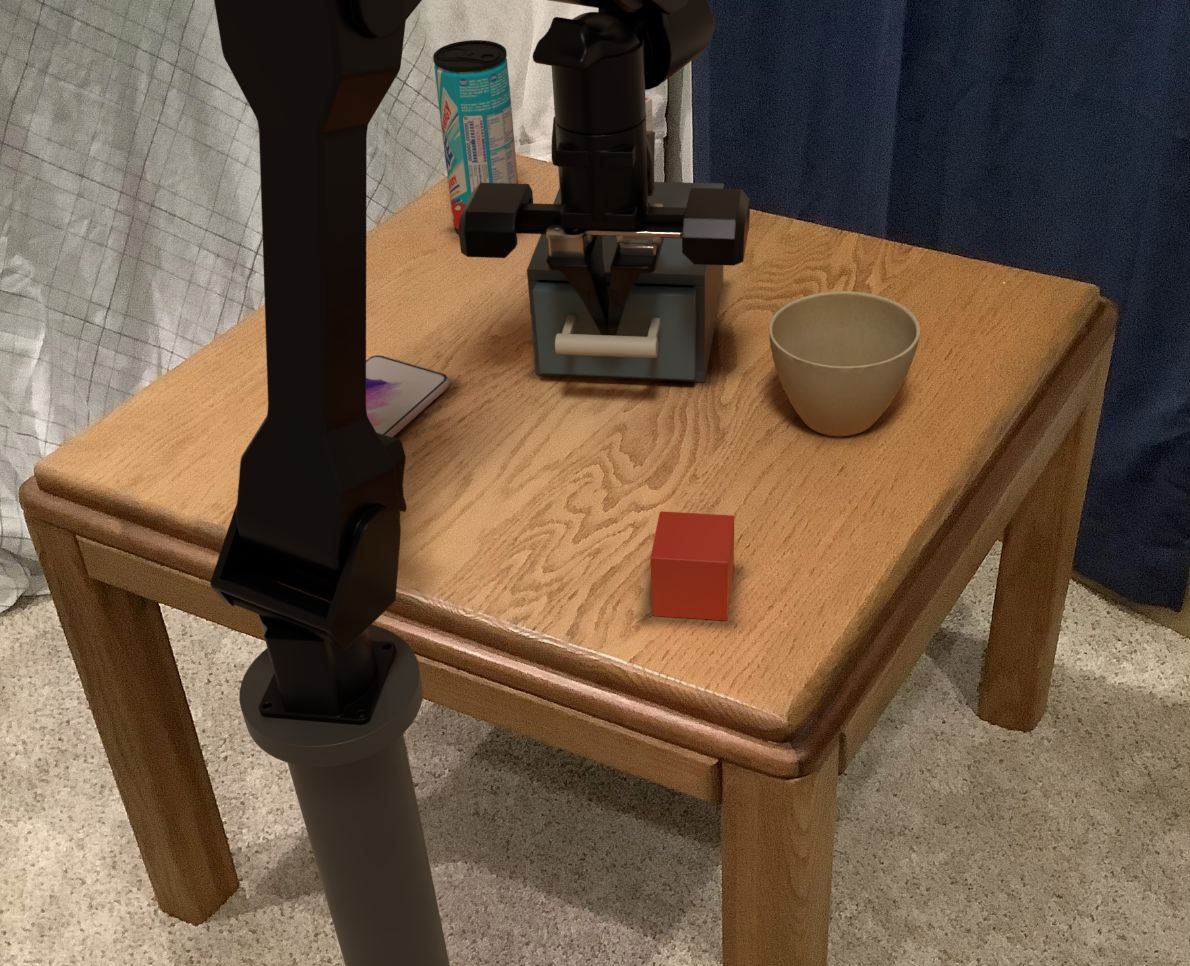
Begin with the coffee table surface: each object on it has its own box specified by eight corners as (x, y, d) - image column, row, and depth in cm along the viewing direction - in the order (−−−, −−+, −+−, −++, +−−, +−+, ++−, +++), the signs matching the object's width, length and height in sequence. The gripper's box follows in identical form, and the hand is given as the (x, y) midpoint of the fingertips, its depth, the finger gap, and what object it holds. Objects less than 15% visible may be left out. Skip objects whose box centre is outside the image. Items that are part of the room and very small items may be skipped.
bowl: (861, 365, 105) (869, 277, 100) (937, 434, 98) (950, 342, 93) (740, 400, 102) (742, 311, 97) (810, 473, 95) (816, 381, 90)
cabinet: (704, 382, 104) (705, 275, 98) (535, 375, 106) (526, 269, 100) (722, 284, 115) (724, 182, 109) (569, 279, 117) (562, 179, 111)
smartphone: (453, 375, 105) (331, 484, 95) (454, 385, 105) (333, 494, 96) (373, 351, 108) (246, 455, 98) (375, 361, 108) (249, 466, 99)
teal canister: (481, 206, 127) (463, 35, 117) (535, 221, 125) (521, 46, 115) (440, 233, 124) (417, 59, 114) (494, 249, 121) (476, 72, 111)
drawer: (688, 412, 100) (687, 326, 95) (528, 405, 101) (520, 320, 97) (712, 288, 113) (713, 207, 108) (570, 283, 114) (565, 203, 110)
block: (727, 621, 85) (728, 562, 82) (651, 616, 85) (650, 557, 82) (733, 572, 88) (734, 514, 85) (661, 568, 89) (659, 510, 86)
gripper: (759, 70, 94) (752, 285, 104) (482, 66, 96) (503, 276, 107) (745, 140, 86) (740, 365, 96) (444, 134, 88) (470, 354, 99)
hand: (610, 336), depth 100 cm, fingers closed
